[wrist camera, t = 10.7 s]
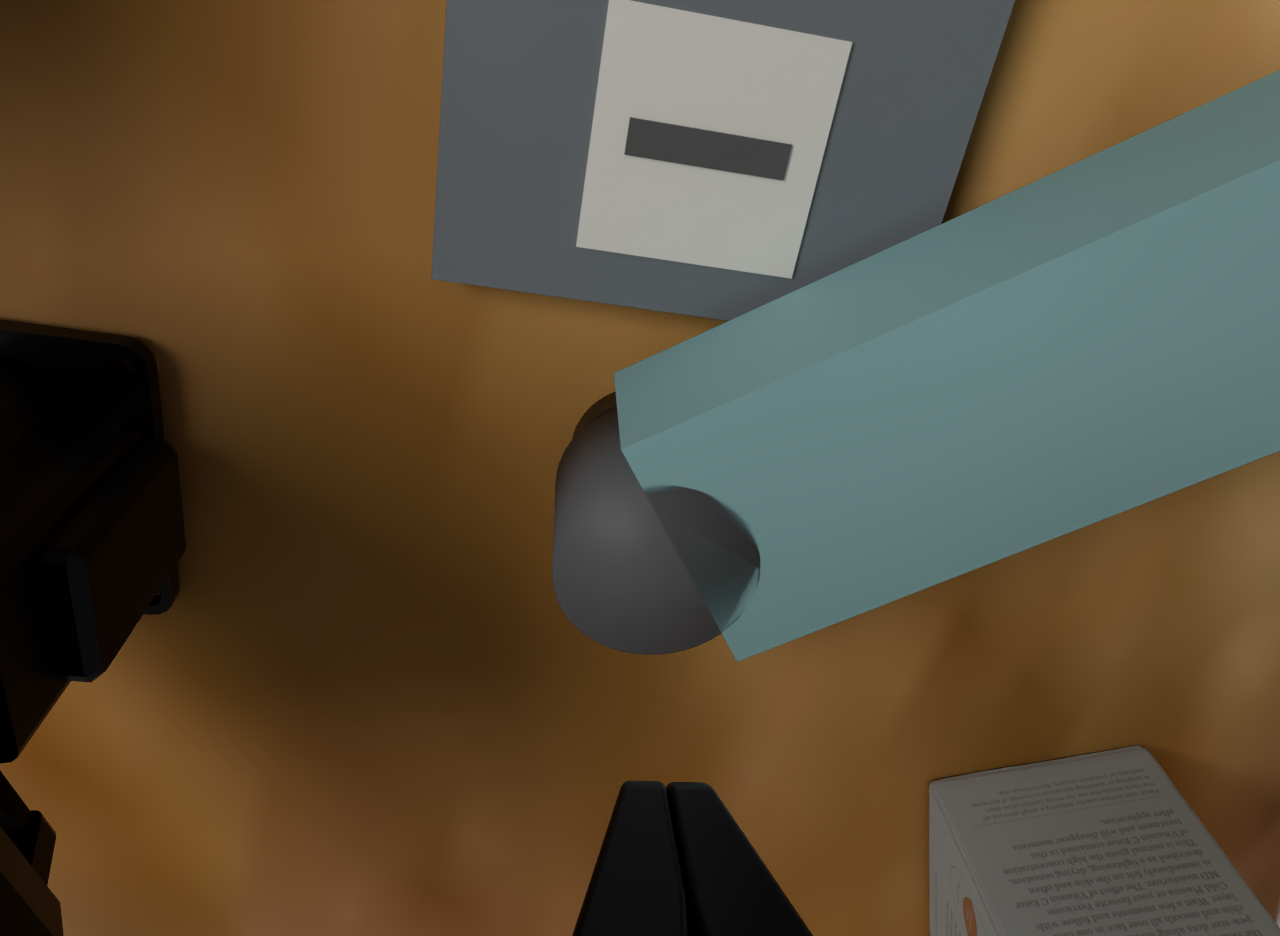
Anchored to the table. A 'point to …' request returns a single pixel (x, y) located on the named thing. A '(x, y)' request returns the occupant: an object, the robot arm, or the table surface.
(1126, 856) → the small box
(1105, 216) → the swing arm
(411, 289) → the table surface
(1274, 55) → the table surface
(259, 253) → the table surface
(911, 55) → the label panel
